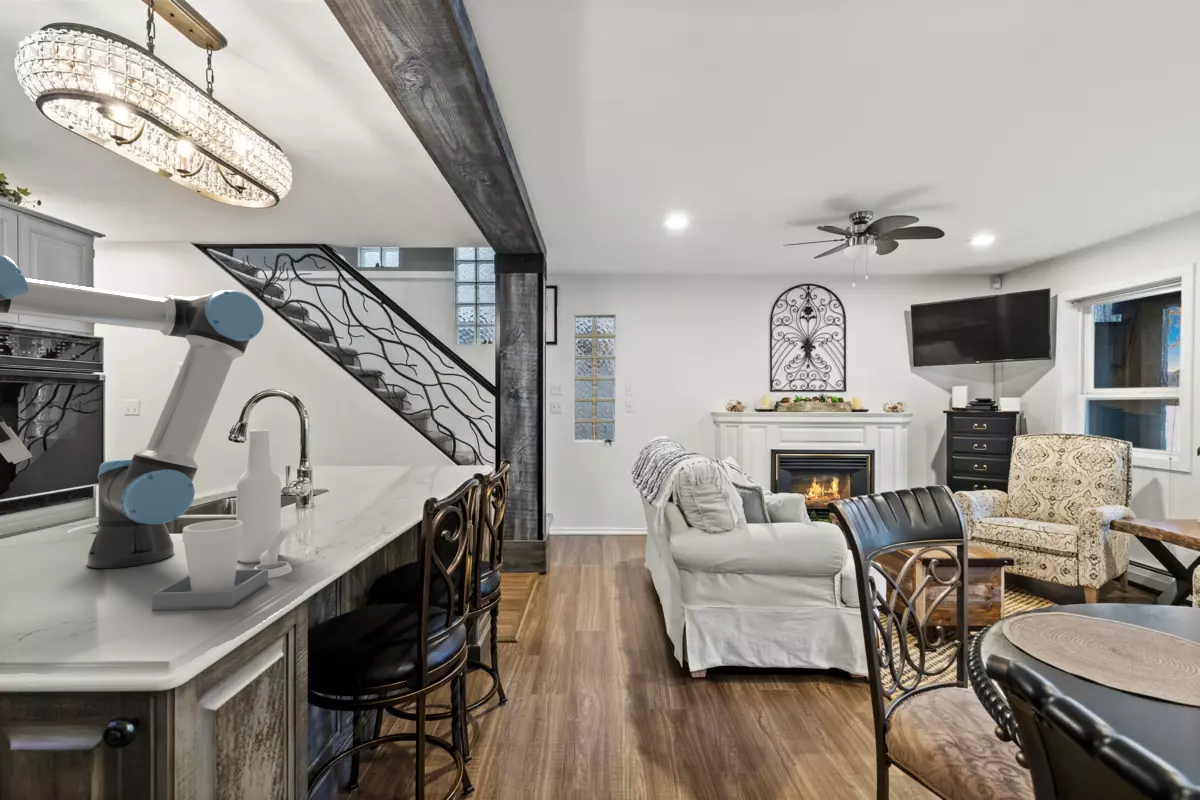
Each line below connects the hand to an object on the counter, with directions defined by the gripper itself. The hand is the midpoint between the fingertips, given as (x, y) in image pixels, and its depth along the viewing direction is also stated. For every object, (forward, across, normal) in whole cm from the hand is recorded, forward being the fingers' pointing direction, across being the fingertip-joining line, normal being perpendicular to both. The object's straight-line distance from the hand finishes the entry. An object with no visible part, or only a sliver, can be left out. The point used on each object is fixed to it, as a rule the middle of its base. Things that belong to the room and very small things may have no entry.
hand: (21, 459), depth 99 cm
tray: (+37, +15, +10) cm, 41 cm away
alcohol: (+41, -8, +22) cm, 47 cm away
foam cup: (+37, +15, +10) cm, 41 cm away
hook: (+42, +6, +21) cm, 47 cm away
